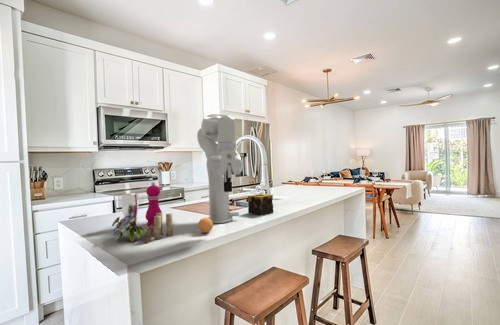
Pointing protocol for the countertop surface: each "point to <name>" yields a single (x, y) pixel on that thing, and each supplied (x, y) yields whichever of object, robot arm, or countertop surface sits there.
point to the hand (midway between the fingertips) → (228, 191)
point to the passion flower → (127, 227)
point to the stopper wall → (148, 234)
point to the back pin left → (157, 227)
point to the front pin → (169, 225)
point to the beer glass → (130, 205)
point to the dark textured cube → (260, 204)
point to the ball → (205, 225)
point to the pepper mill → (152, 203)
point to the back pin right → (161, 222)
